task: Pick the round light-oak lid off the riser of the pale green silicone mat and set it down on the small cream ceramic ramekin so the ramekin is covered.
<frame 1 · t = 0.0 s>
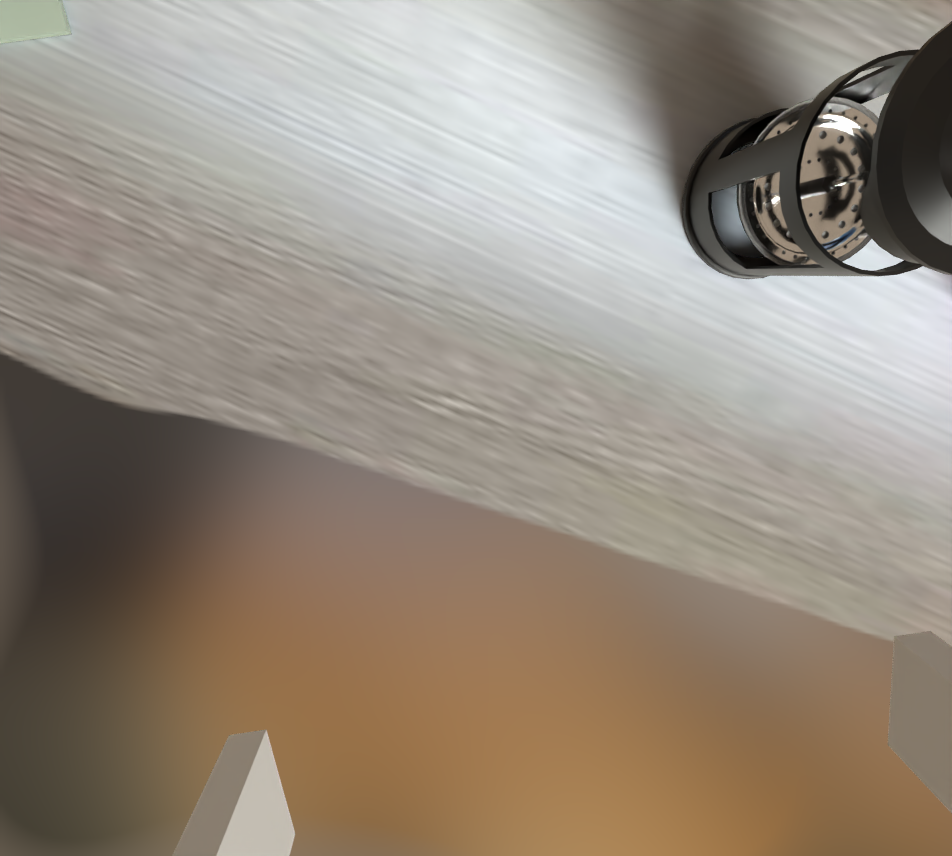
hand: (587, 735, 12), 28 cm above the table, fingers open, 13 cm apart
french press: (761, 203, 37), on the table
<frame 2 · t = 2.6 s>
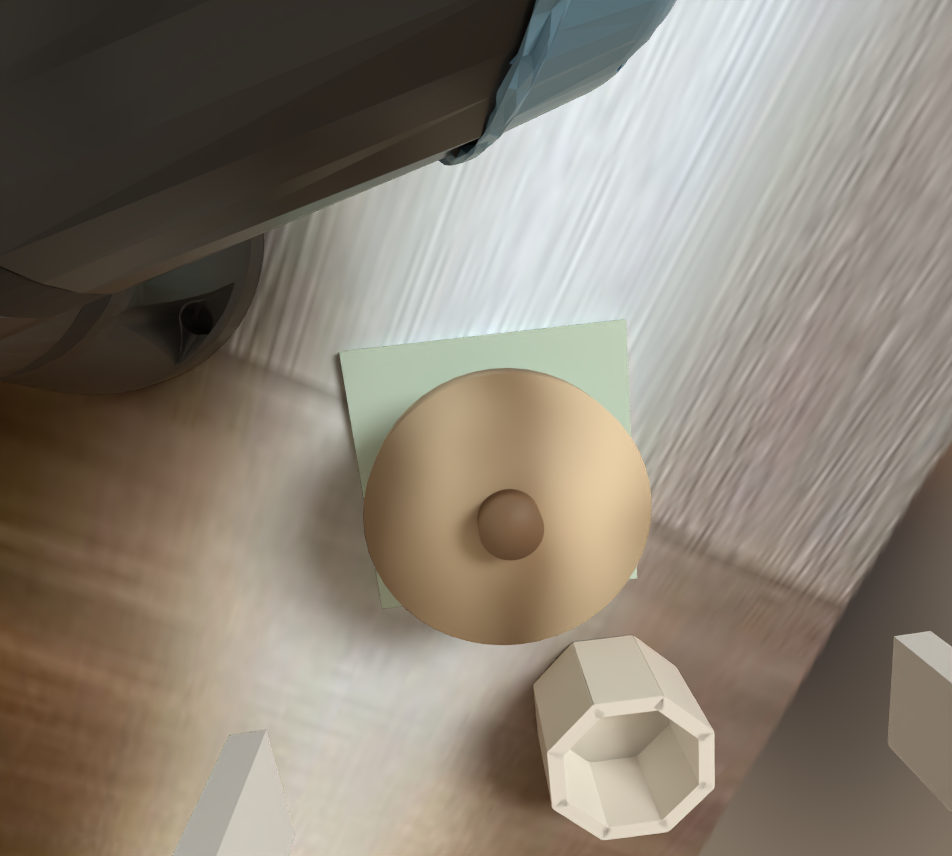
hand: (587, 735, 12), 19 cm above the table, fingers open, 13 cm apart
ramekin: (606, 701, 34), on the table
mat stand: (496, 469, 30), on the table
lid: (504, 500, 26), point 4 cm above the table, touching mat stand
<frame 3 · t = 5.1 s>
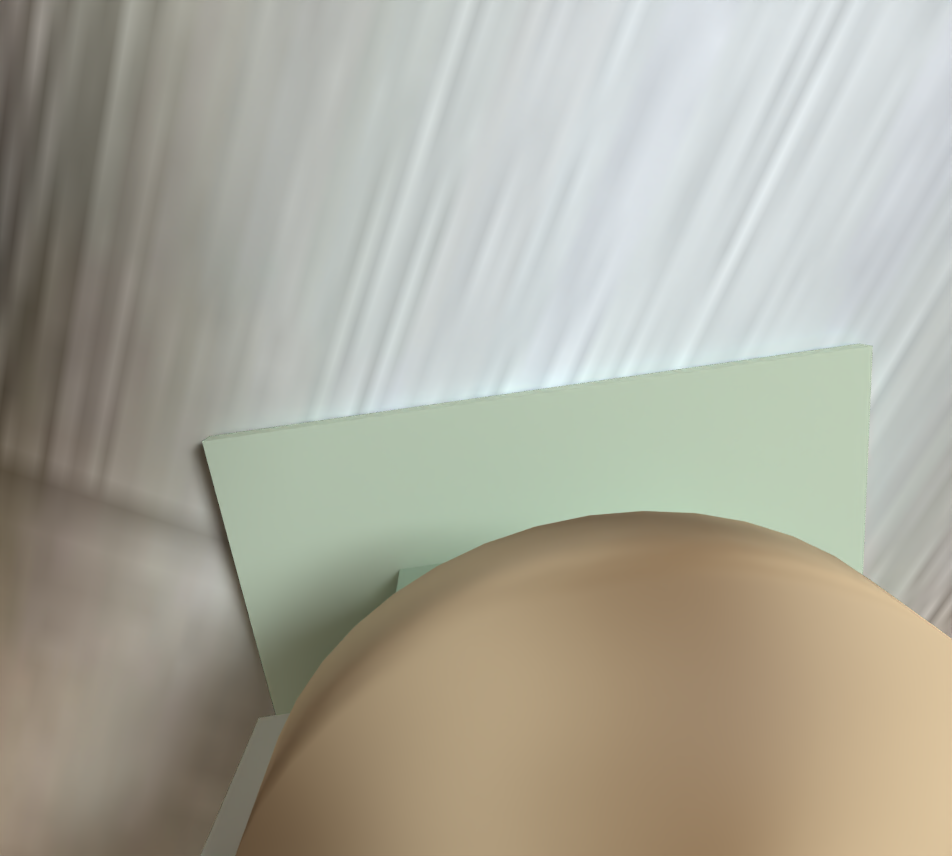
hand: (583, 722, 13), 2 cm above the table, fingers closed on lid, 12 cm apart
mat stand: (567, 668, 14), on the table
lid: (618, 836, 10), point 4 cm above the table, touching gripper, mat stand
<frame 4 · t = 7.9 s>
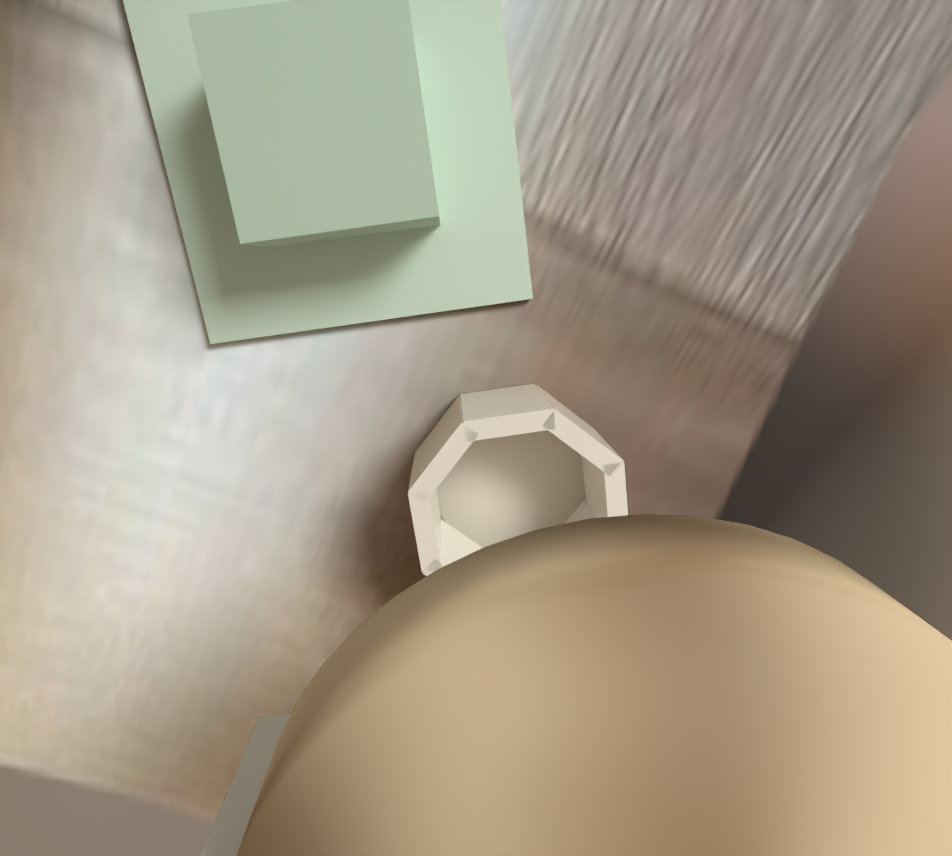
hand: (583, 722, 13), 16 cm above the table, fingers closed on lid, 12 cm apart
ramekin: (508, 475, 28), on the table
mat stand: (342, 147, 24), on the table
lid: (619, 840, 10), point 18 cm above the table, touching gripper
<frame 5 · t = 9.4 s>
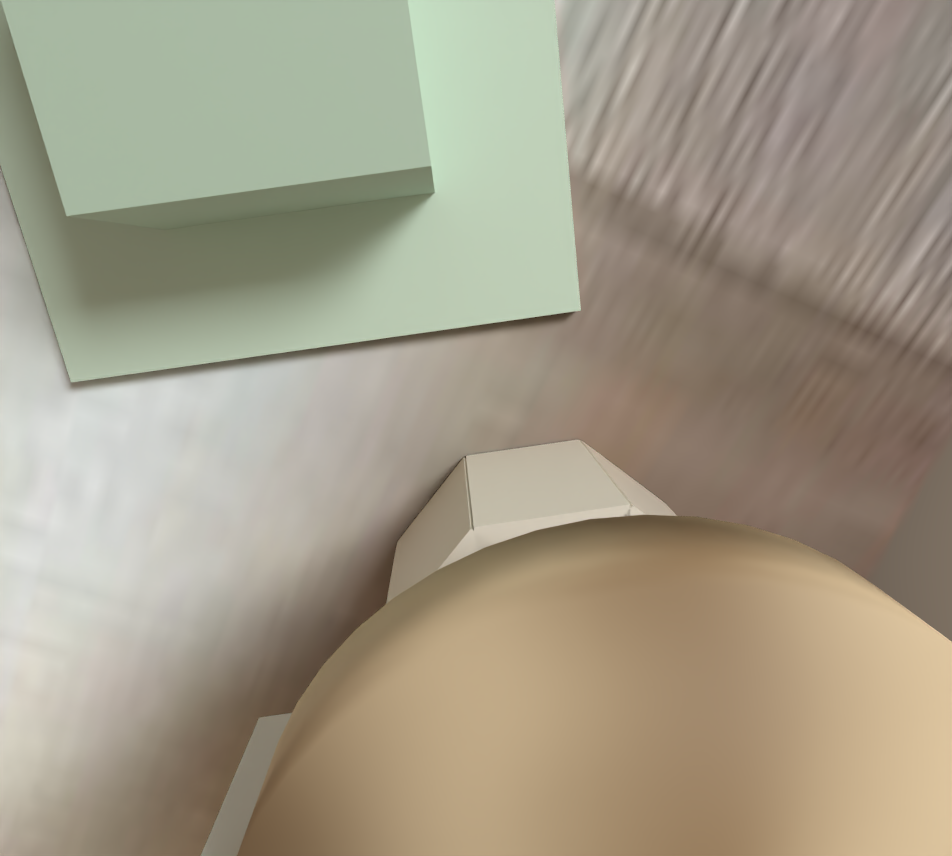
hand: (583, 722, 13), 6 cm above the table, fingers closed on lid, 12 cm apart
ramekin: (537, 572, 19), on the table
mat stand: (273, 63, 14), on the table
lid: (619, 840, 10), point 9 cm above the table, touching gripper
when the fingers open (5 cm above the table, at t = 10.8 s): lid drops 2 cm, resting on ramekin.
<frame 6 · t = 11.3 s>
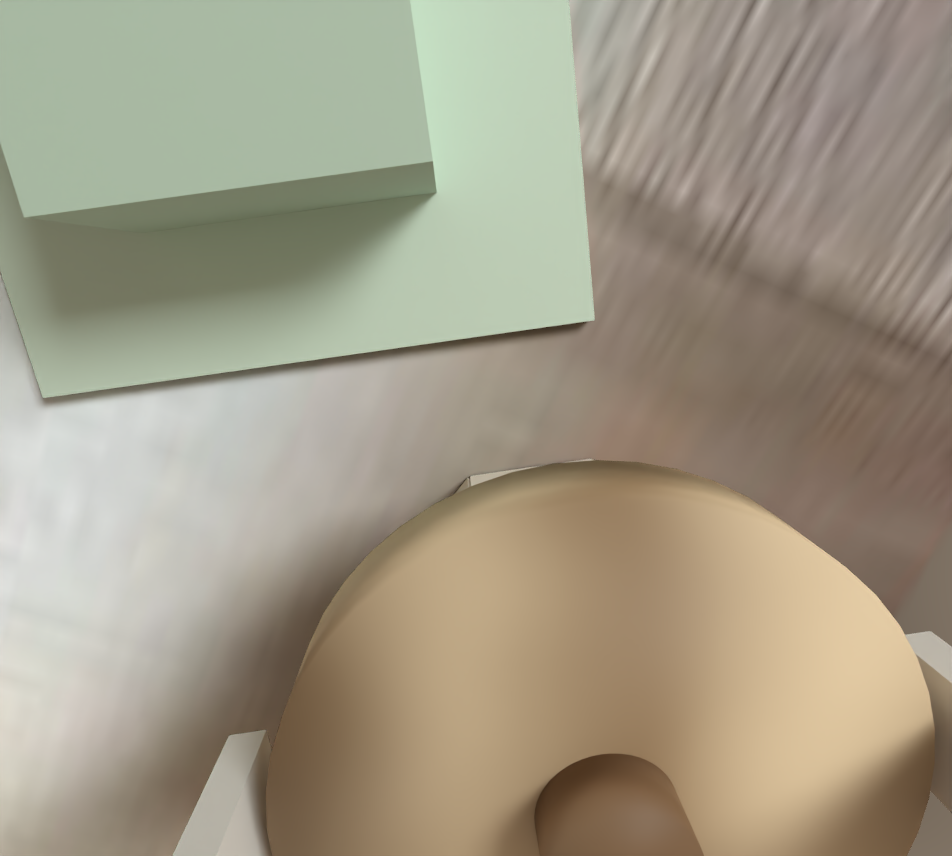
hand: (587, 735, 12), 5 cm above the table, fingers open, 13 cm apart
ramekin: (546, 600, 17), on the table
mat stand: (261, 52, 13), on the table
lid: (581, 729, 12), point 5 cm above the table, touching ramekin
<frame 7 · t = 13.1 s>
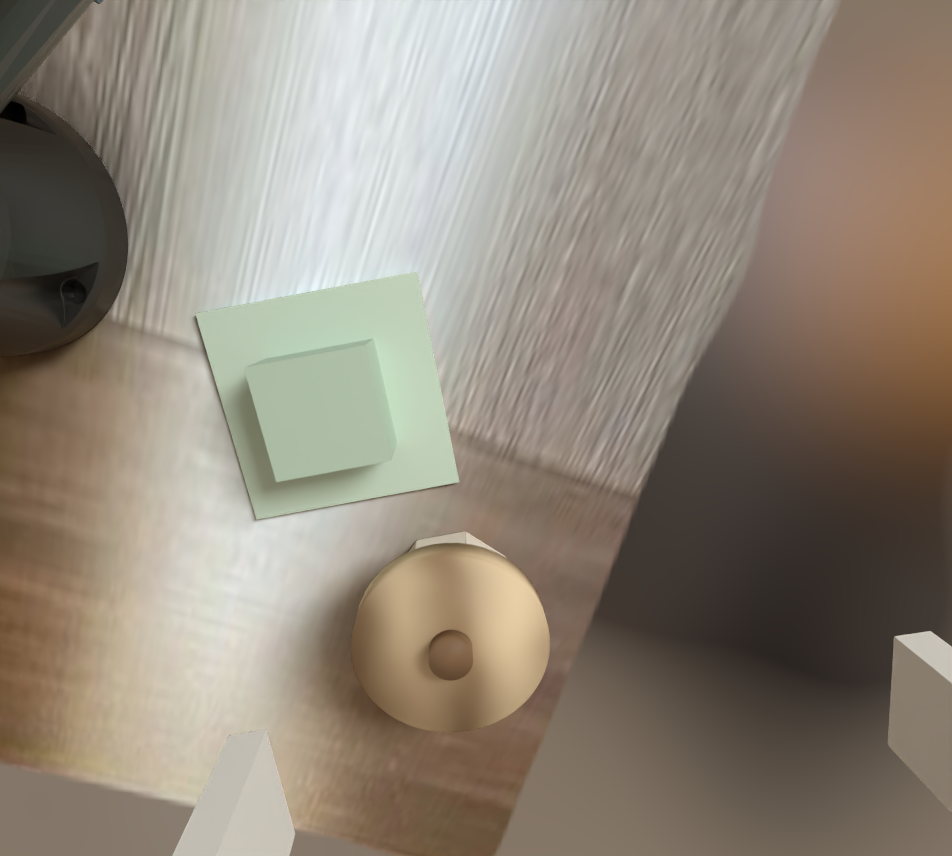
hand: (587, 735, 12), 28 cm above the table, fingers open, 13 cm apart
ramekin: (452, 588, 42), on the table
mat stand: (334, 400, 38), on the table
lid: (451, 629, 37), point 5 cm above the table, touching ramekin
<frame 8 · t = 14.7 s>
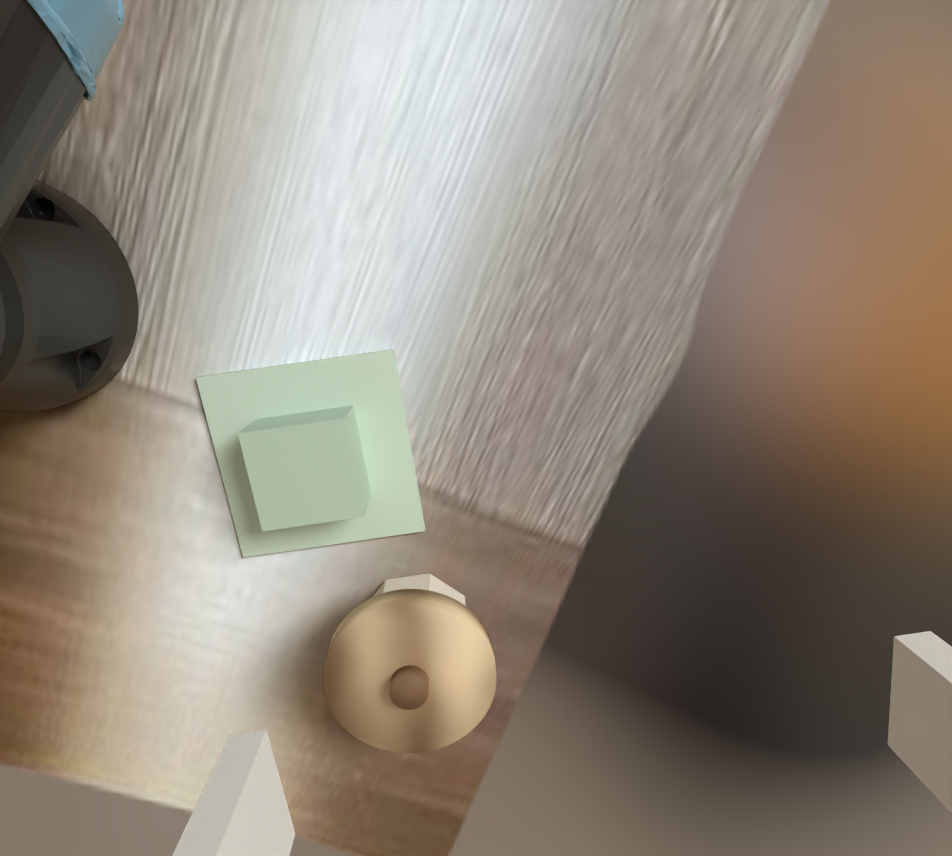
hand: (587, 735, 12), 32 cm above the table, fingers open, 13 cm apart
ramekin: (416, 622, 47), on the table
mat stand: (316, 456, 43), on the table
lid: (411, 662, 42), point 5 cm above the table, touching ramekin
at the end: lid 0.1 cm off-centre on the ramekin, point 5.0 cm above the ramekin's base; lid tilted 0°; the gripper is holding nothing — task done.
